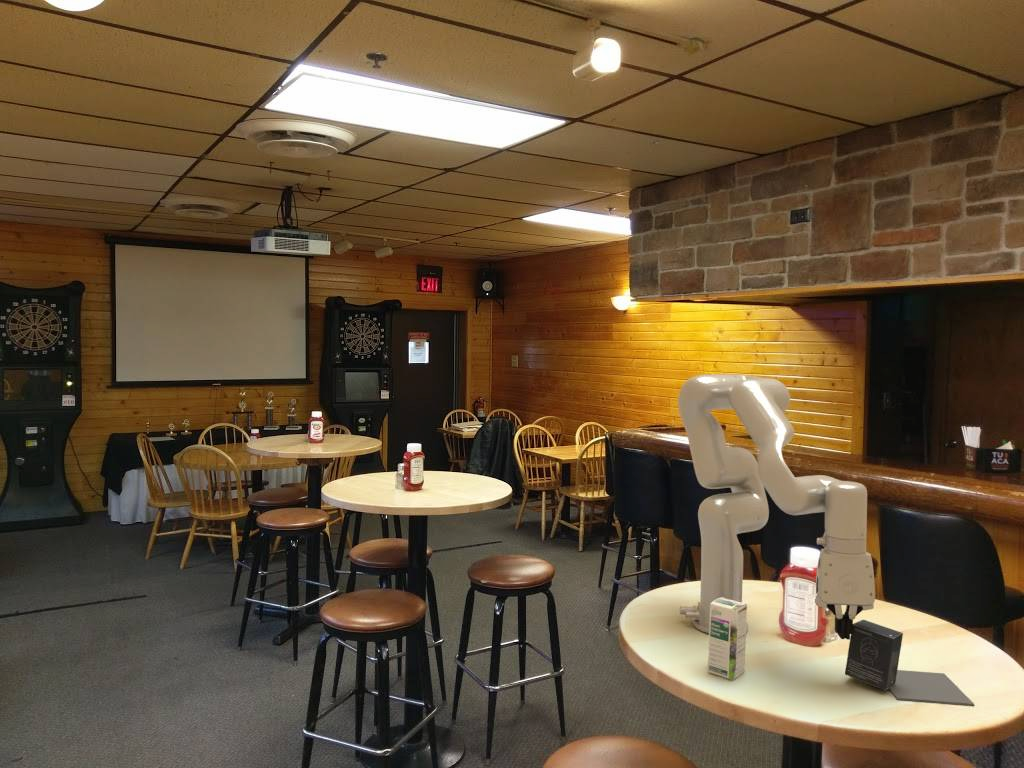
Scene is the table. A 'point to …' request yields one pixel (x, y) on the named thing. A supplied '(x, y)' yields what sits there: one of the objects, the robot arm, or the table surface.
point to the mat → (927, 688)
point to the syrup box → (727, 638)
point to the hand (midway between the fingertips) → (843, 636)
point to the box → (874, 654)
